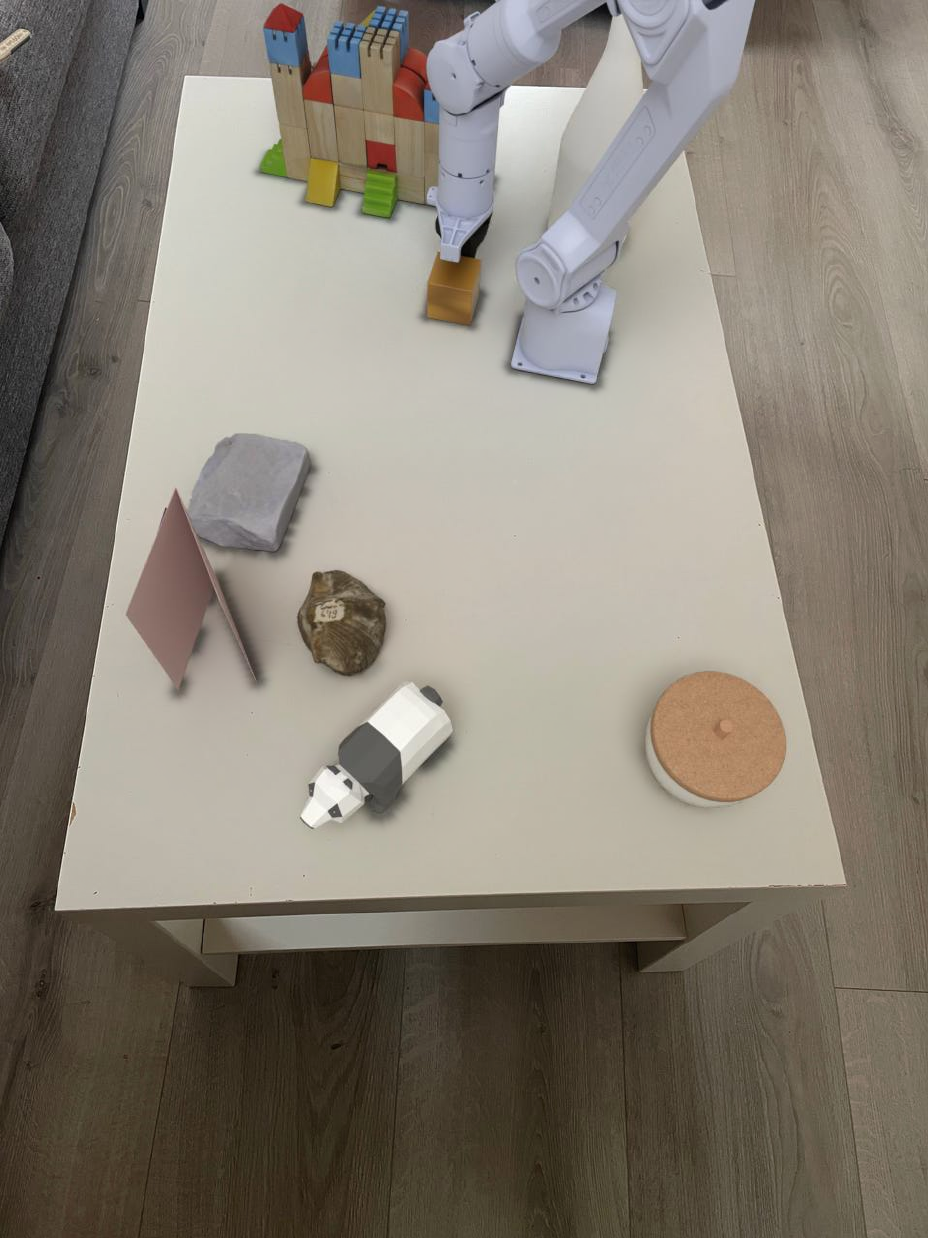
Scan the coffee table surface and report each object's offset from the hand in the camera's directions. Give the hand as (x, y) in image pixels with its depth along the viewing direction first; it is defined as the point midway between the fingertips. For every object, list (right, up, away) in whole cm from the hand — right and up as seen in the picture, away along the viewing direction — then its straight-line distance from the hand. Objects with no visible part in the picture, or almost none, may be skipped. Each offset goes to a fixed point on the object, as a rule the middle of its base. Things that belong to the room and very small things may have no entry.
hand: (461, 269), depth 98 cm
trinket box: (+20, -52, -23) cm, 61 cm away
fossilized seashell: (-11, -41, -19) cm, 47 cm away
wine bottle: (+15, +6, +6) cm, 17 cm away
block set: (-11, +15, +9) cm, 21 cm away
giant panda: (-7, -53, -24) cm, 59 cm away
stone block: (-21, -28, -13) cm, 37 cm away
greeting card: (-21, -42, -19) cm, 51 cm away
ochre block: (-1, -4, 0) cm, 4 cm away
